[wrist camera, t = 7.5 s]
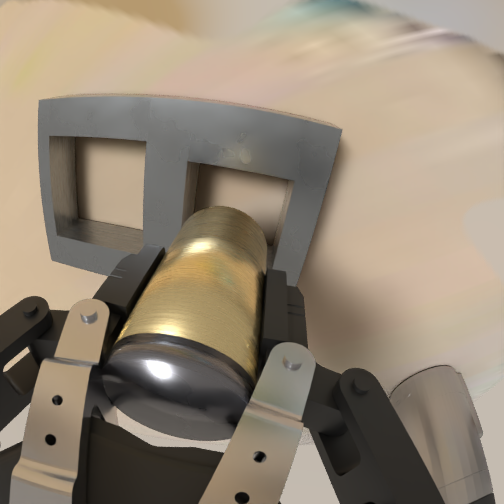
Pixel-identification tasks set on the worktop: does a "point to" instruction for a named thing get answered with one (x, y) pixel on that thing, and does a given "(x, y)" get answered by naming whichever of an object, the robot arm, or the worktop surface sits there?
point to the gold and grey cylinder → (195, 331)
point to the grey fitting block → (179, 170)
